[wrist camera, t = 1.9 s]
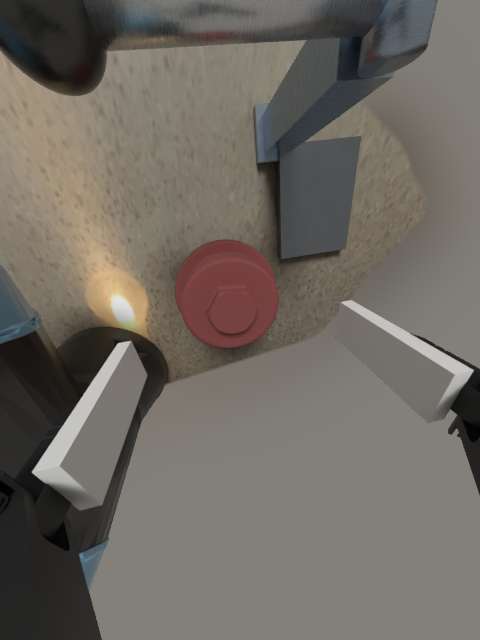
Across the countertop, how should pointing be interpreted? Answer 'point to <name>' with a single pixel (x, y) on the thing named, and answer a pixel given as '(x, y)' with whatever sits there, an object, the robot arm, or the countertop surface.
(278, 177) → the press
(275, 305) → the mechanical component
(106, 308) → the countertop surface
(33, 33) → the lever
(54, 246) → the countertop surface
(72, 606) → the robot arm
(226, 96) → the countertop surface
